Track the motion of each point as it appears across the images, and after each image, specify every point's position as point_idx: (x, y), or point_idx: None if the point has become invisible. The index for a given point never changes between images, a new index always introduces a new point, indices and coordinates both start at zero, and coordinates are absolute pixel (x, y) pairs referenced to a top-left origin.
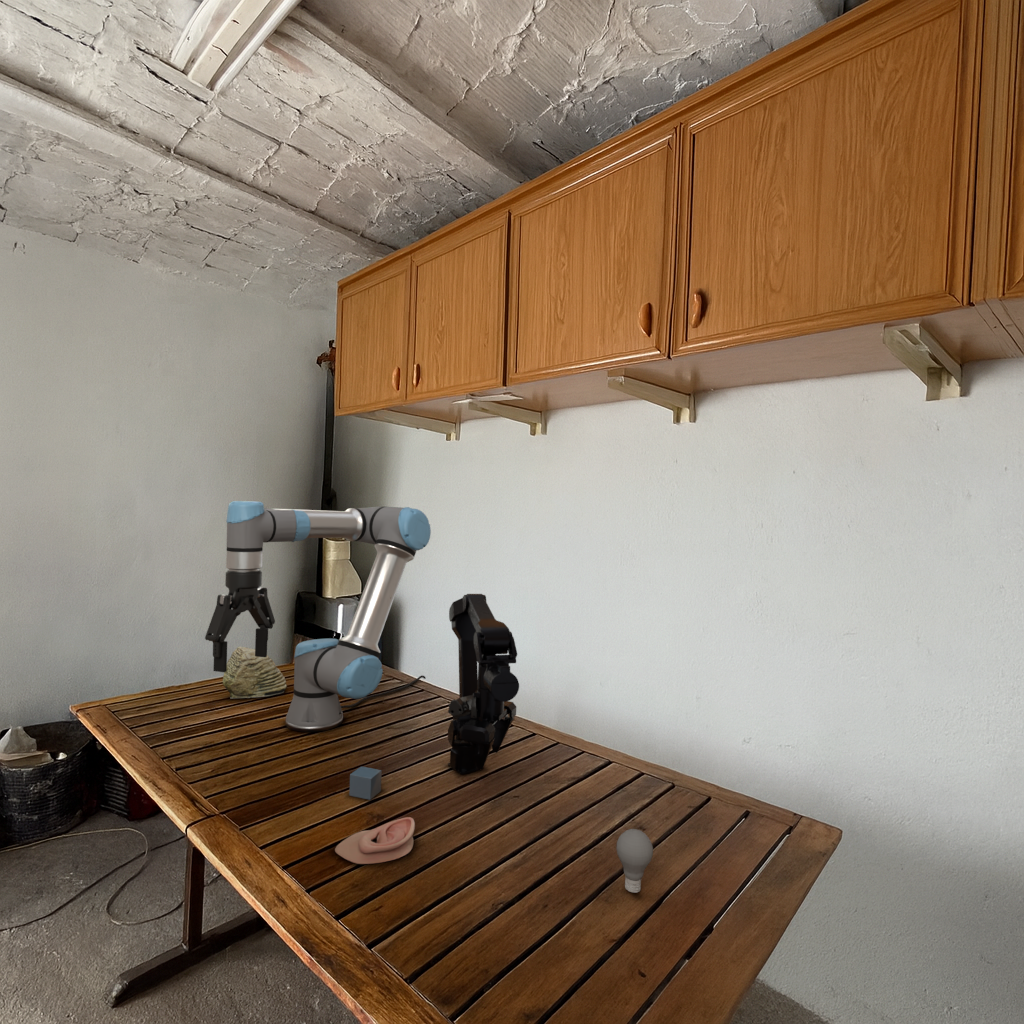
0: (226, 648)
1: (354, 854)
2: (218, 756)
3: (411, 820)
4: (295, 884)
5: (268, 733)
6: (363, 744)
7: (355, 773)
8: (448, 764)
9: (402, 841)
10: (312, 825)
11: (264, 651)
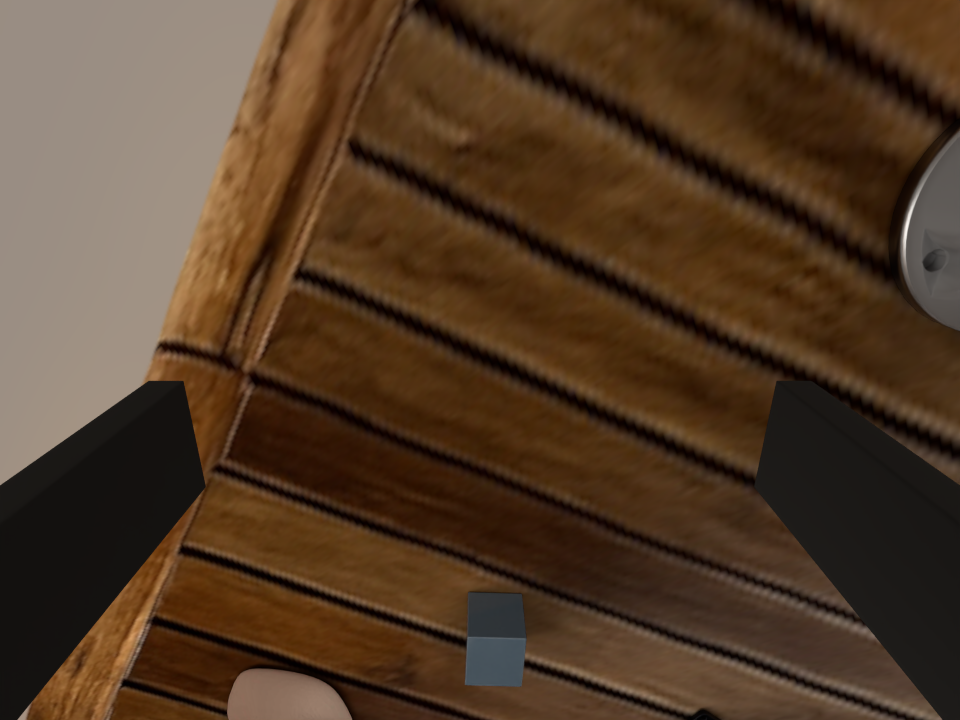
0: (32, 682)
1: (234, 715)
2: (580, 70)
3: None
4: (126, 659)
5: (858, 100)
6: None
7: (477, 645)
8: (698, 716)
9: None
10: (310, 588)
11: (788, 517)
